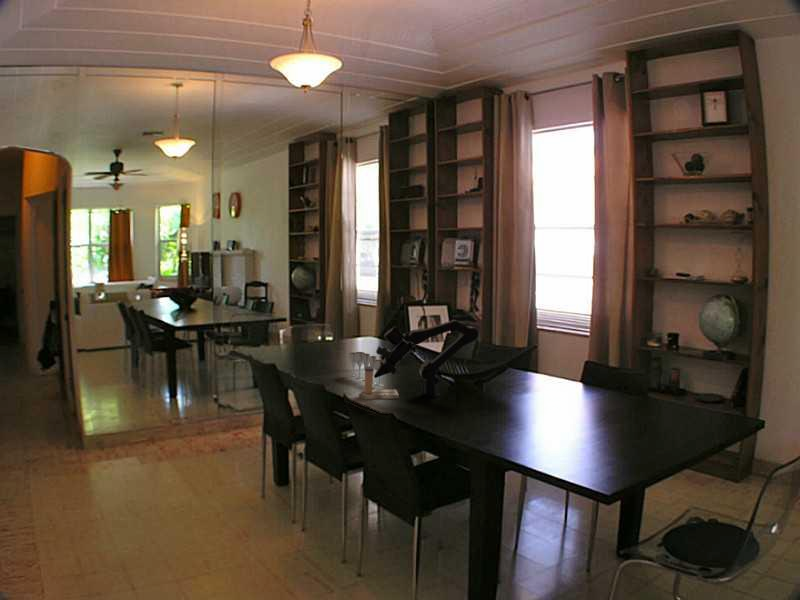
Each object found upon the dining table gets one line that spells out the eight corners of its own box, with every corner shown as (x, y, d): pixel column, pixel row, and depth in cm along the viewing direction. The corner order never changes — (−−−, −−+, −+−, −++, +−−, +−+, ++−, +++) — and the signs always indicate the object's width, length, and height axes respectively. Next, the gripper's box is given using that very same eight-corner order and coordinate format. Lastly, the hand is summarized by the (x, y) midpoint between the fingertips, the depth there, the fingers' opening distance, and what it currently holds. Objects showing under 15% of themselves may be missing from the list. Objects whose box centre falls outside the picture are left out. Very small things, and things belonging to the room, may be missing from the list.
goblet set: (345, 376, 308) (346, 350, 307) (355, 374, 312) (355, 349, 310) (378, 387, 286) (378, 359, 285) (387, 385, 290) (388, 358, 288)
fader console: (396, 392, 276) (396, 389, 276) (398, 398, 266) (398, 394, 266) (360, 393, 274) (360, 389, 274) (362, 398, 264) (362, 395, 264)
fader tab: (371, 390, 272) (372, 366, 271) (372, 393, 266) (373, 368, 265) (363, 390, 272) (364, 366, 271) (364, 393, 266) (365, 368, 265)
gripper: (384, 336, 277) (360, 360, 277) (389, 343, 259) (363, 369, 258) (401, 353, 279) (377, 377, 279) (407, 361, 260) (381, 386, 260)
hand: (374, 377), depth 269 cm, fingers closed
